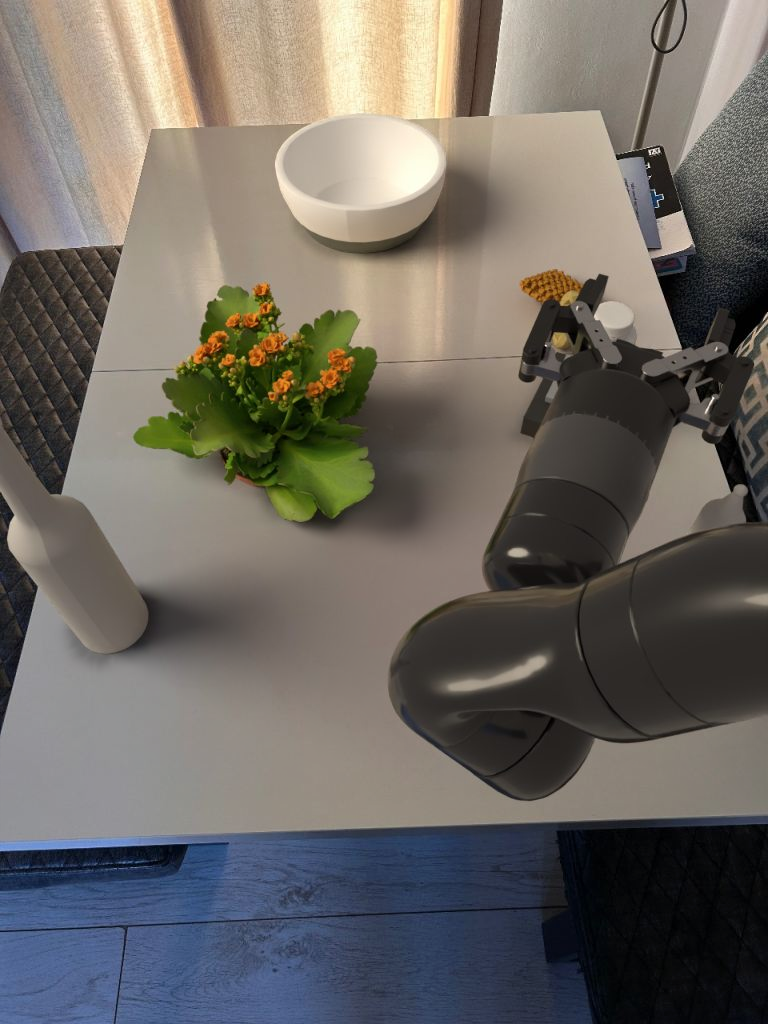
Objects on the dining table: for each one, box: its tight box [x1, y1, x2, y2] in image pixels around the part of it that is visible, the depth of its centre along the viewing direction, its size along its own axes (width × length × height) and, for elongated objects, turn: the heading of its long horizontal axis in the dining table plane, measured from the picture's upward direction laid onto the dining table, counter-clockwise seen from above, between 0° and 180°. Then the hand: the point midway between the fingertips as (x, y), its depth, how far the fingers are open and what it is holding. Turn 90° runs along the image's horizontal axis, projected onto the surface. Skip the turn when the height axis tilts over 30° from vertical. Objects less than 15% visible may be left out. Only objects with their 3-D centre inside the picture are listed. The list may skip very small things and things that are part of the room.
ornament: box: [518, 268, 584, 349], centre depth 92 cm, size 7×10×15 cm
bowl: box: [274, 112, 448, 254], centre depth 103 cm, size 22×22×8 cm
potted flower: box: [132, 281, 378, 523], centre depth 76 cm, size 25×24×18 cm
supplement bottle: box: [594, 300, 638, 345], centre depth 79 cm, size 6×6×10 cm
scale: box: [520, 351, 573, 438], centre depth 84 cm, size 11×11×3 cm
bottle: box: [0, 417, 150, 655], centre depth 60 cm, size 7×7×28 cm
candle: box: [686, 483, 749, 535], centre depth 59 cm, size 5×5×25 cm
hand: (659, 301), depth 54 cm, fingers open, 8 cm apart
